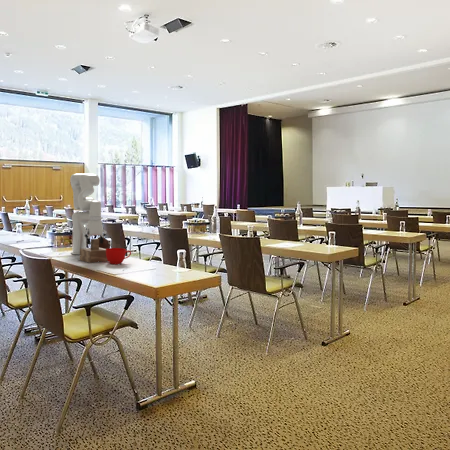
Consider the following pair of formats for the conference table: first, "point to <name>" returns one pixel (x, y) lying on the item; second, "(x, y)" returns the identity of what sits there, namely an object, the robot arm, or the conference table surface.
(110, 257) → the ceramic cup
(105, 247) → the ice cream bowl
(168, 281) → the conference table surface
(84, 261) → the mat
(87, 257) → the brown block with knob
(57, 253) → the conference table surface
